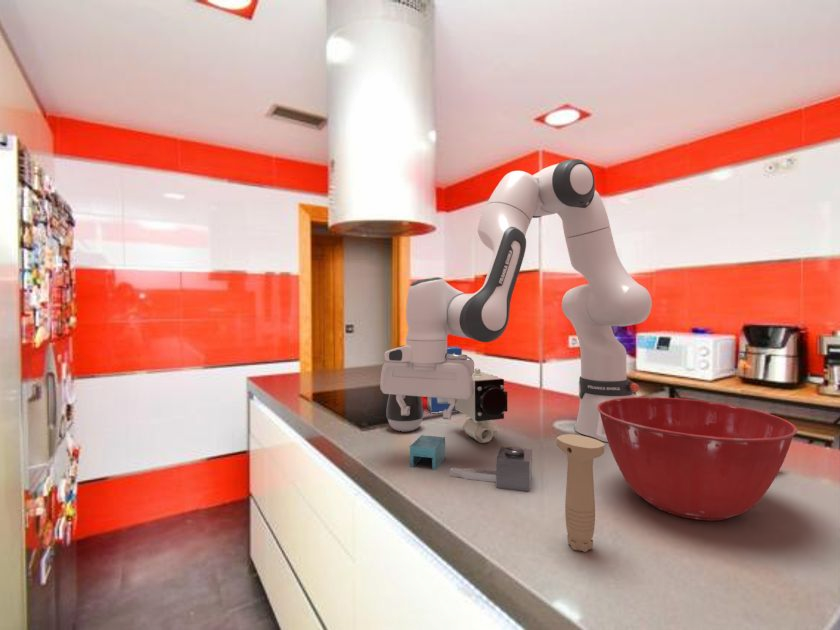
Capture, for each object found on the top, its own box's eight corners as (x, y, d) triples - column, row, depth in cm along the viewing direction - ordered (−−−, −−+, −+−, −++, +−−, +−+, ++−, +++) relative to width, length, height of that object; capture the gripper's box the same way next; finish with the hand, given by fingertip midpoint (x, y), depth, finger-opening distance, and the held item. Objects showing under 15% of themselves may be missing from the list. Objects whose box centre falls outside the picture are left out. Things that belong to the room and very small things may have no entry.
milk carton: (431, 413, 138) (430, 349, 137) (427, 409, 144) (426, 347, 143) (462, 411, 140) (461, 348, 139) (456, 407, 146) (456, 346, 145)
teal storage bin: (421, 454, 101) (421, 435, 101) (445, 457, 99) (445, 437, 99) (410, 467, 93) (410, 446, 93) (435, 470, 92) (435, 448, 92)
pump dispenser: (417, 436, 115) (417, 377, 114) (380, 432, 118) (379, 375, 118) (429, 425, 124) (428, 371, 124) (394, 422, 128) (394, 370, 127)
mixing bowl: (652, 460, 96) (652, 389, 95) (824, 513, 72) (826, 418, 71) (564, 492, 81) (564, 407, 80) (746, 571, 56) (747, 451, 56)
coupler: (446, 482, 85) (446, 449, 85) (454, 468, 92) (454, 438, 92) (529, 491, 81) (529, 457, 80) (531, 477, 87) (531, 445, 87)
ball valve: (513, 447, 105) (513, 373, 104) (481, 452, 102) (480, 375, 102) (479, 427, 122) (478, 363, 121) (450, 431, 119) (450, 364, 119)
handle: (590, 563, 58) (590, 450, 58) (550, 542, 64) (550, 438, 63) (610, 551, 61) (611, 443, 61) (571, 531, 67) (571, 432, 66)
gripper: (477, 353, 95) (476, 417, 96) (388, 349, 102) (388, 410, 102) (471, 356, 89) (470, 424, 90) (377, 352, 96) (377, 416, 96)
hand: (426, 416), depth 96 cm, fingers open, 8 cm apart
